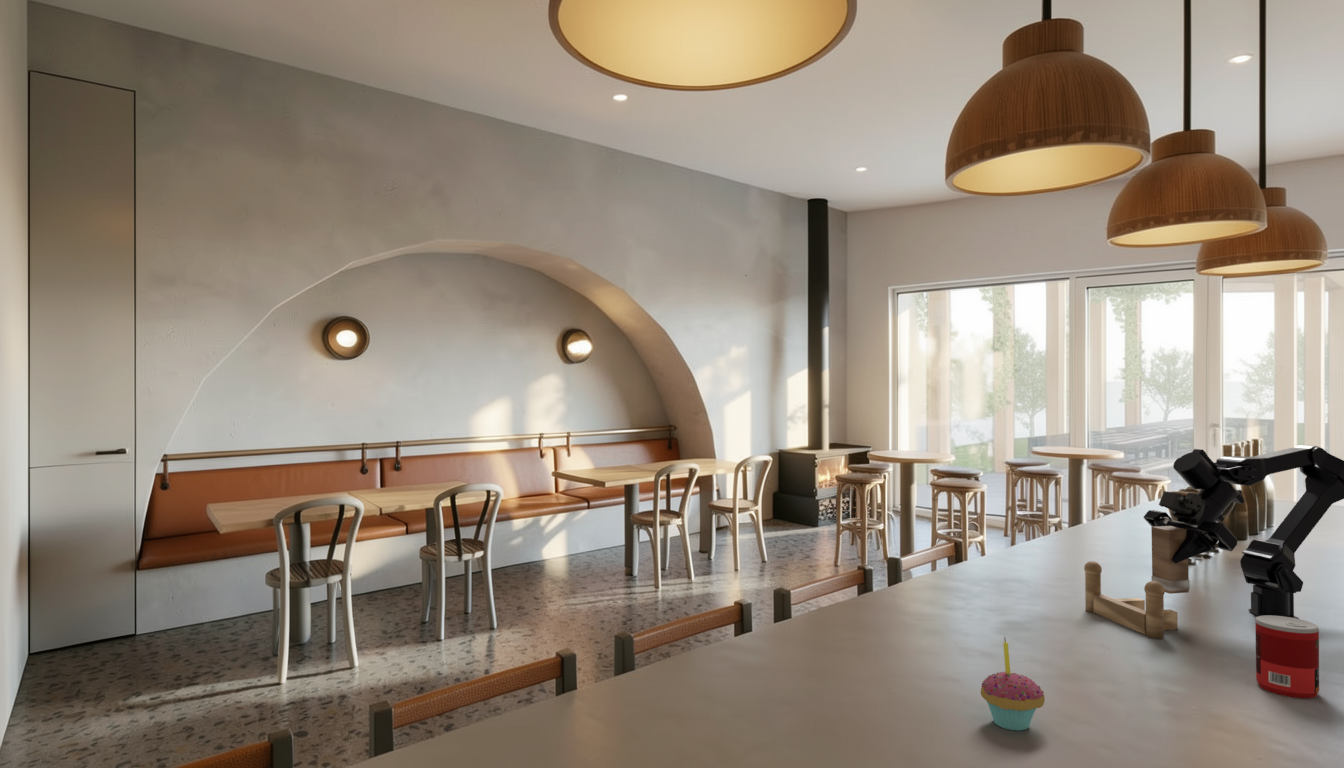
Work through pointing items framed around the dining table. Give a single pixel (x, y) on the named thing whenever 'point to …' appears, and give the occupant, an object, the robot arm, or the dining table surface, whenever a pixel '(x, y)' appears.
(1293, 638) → the canned food
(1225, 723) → the dining table surface
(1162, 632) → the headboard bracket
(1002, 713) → the cupcake
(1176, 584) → the block
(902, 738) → the dining table surface
